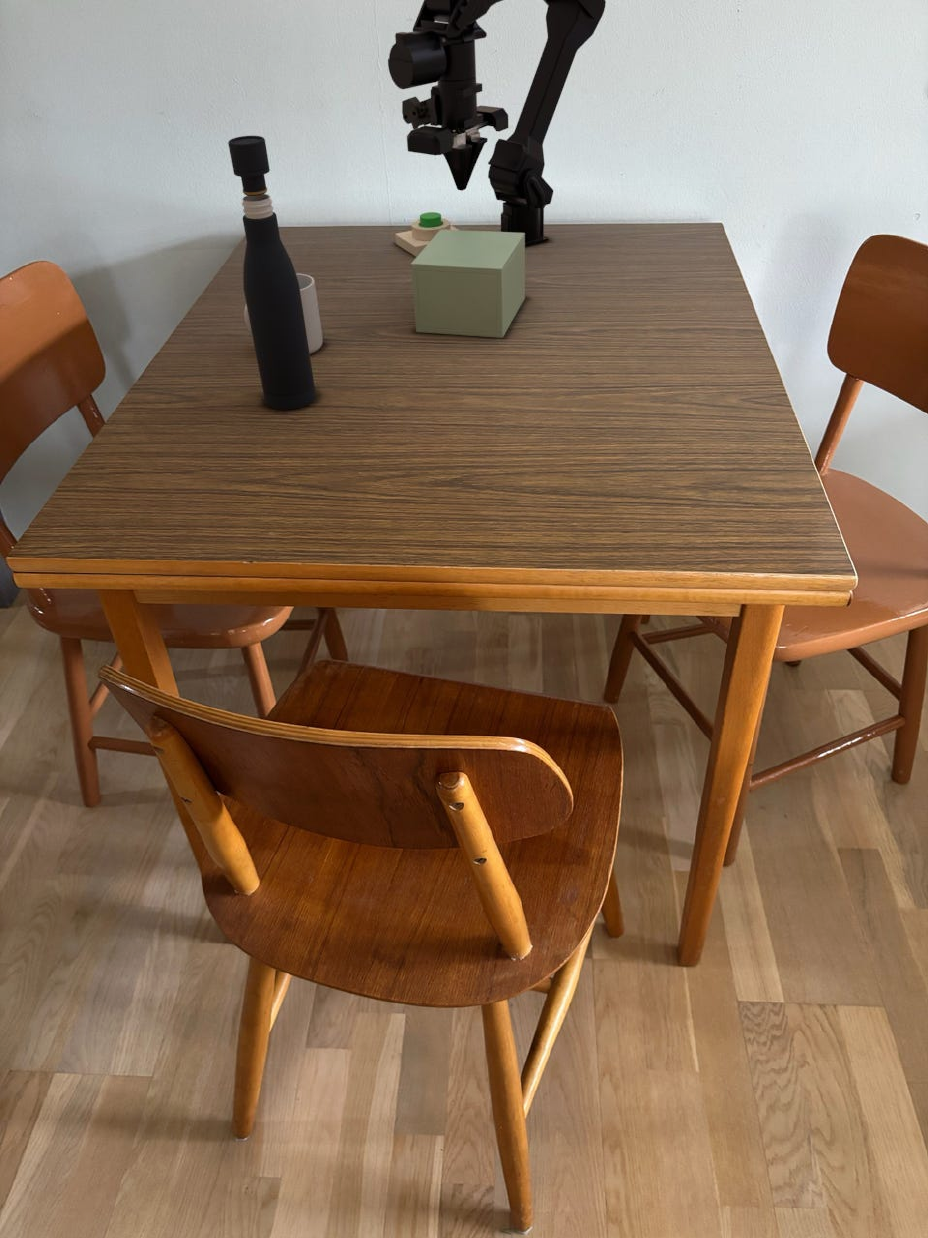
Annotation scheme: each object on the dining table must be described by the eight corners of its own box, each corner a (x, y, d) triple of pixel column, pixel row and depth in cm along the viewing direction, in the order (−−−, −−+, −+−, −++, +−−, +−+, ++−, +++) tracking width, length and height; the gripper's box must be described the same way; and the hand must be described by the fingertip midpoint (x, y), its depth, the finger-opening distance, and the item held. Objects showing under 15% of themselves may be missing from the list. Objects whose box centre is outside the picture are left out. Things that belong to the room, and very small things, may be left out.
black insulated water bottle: (274, 415, 117) (225, 150, 98) (258, 394, 122) (208, 138, 103) (323, 402, 119) (285, 140, 100) (305, 382, 124) (265, 129, 105)
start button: (435, 221, 164) (435, 210, 162) (445, 226, 161) (444, 215, 160) (416, 225, 162) (416, 214, 161) (426, 230, 160) (425, 219, 159)
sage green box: (444, 293, 146) (440, 229, 140) (524, 298, 143) (524, 232, 137) (415, 332, 135) (410, 263, 129) (502, 338, 132) (501, 268, 126)
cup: (325, 354, 131) (316, 289, 125) (252, 363, 129) (239, 298, 124) (321, 333, 136) (312, 270, 130) (250, 342, 135) (238, 279, 129)
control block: (447, 232, 168) (446, 212, 166) (468, 245, 163) (468, 223, 160) (395, 243, 165) (394, 222, 162) (416, 256, 159) (414, 235, 157)
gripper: (450, 61, 150) (455, 168, 160) (373, 85, 138) (384, 198, 148) (509, 66, 144) (511, 176, 154) (434, 91, 133) (441, 208, 143)
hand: (461, 189), depth 150 cm, fingers closed
